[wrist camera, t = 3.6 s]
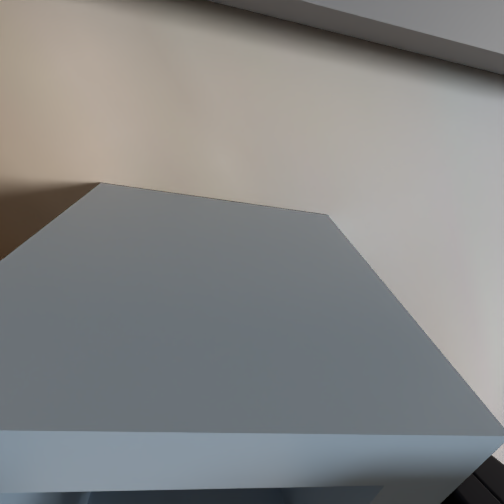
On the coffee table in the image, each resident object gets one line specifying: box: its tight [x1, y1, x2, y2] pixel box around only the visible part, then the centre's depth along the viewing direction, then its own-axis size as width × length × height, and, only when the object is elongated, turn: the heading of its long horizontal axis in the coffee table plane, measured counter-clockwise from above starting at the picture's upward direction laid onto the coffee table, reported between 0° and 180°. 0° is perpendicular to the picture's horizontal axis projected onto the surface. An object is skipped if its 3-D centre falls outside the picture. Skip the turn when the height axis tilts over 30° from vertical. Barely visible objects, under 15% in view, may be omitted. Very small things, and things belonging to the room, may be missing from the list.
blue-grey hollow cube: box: [0, 183, 504, 504], centre depth 7 cm, size 6×6×6 cm
